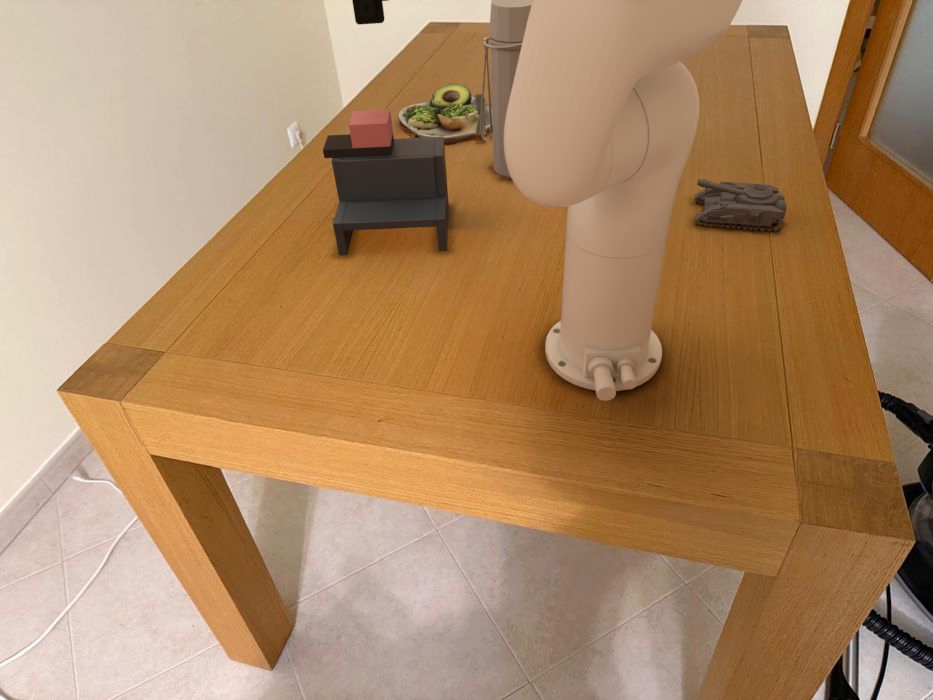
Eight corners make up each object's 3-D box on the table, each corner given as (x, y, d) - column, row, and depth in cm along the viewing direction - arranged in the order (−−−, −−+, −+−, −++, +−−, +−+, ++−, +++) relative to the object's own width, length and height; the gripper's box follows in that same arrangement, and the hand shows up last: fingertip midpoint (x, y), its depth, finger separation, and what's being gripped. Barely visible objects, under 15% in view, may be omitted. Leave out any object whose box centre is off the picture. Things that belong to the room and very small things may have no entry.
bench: (447, 251, 92) (441, 176, 85) (339, 255, 93) (324, 181, 86) (448, 206, 101) (443, 136, 94) (350, 211, 102) (337, 141, 95)
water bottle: (542, 161, 111) (546, -7, 95) (532, 184, 106) (535, 9, 89) (487, 157, 113) (482, -8, 97) (475, 179, 108) (468, 8, 91)
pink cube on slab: (324, 158, 91) (318, 126, 88) (329, 143, 94) (323, 112, 91) (391, 155, 90) (387, 123, 88) (394, 140, 94) (390, 109, 91)
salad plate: (524, 133, 120) (524, 107, 117) (431, 157, 114) (429, 131, 111) (474, 98, 133) (473, 74, 130) (389, 118, 127) (386, 93, 124)
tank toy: (692, 229, 94) (698, 195, 90) (691, 196, 100) (697, 163, 97) (785, 237, 91) (795, 202, 88) (778, 202, 98) (787, 168, 95)
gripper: (325, -175, 75) (351, -5, 86) (297, -164, 62) (332, 35, 73) (393, -180, 75) (410, -9, 86) (379, -170, 62) (401, 30, 73)
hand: (374, 11), depth 80 cm, fingers open, 9 cm apart
